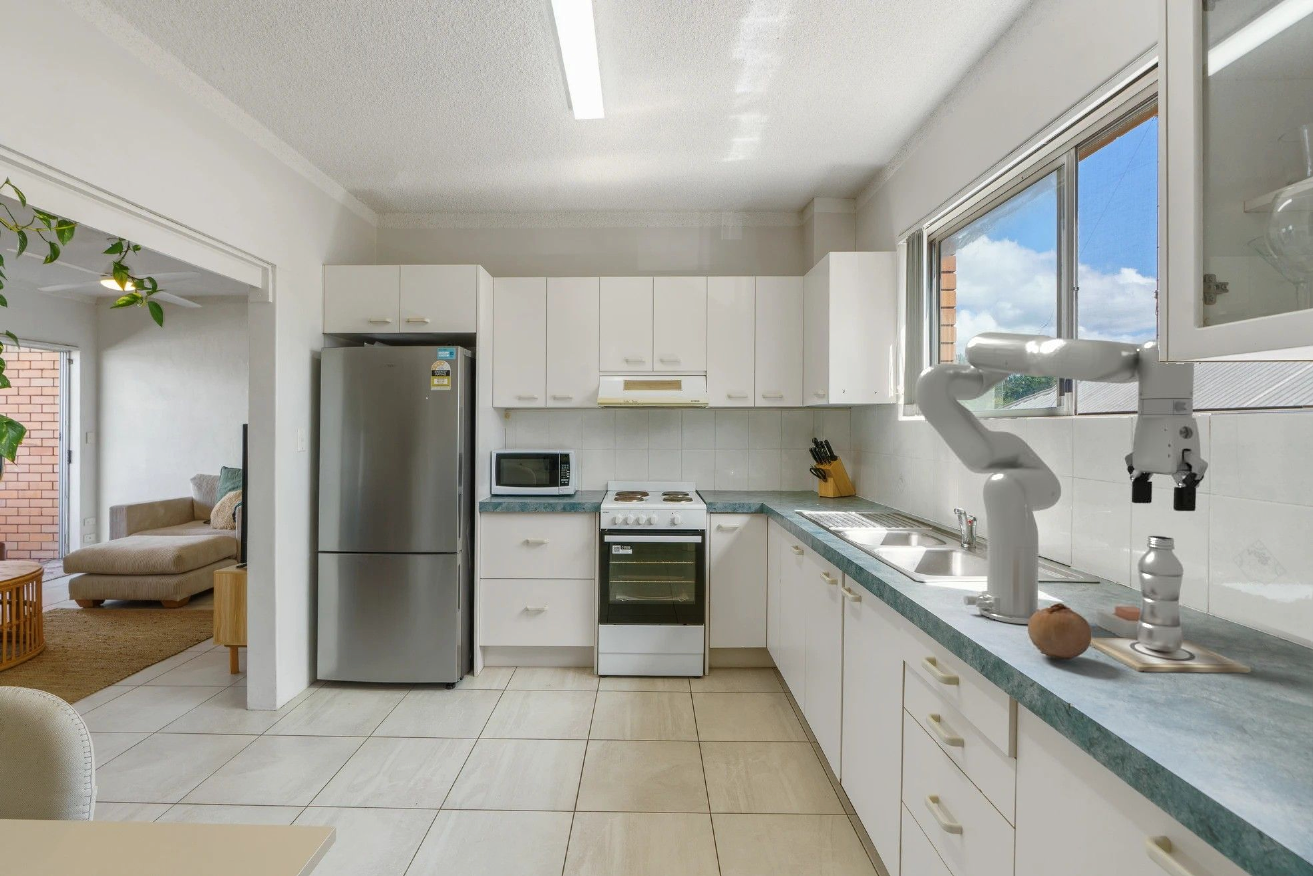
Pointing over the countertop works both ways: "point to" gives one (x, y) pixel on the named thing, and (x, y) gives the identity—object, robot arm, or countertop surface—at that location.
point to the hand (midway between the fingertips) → (1162, 506)
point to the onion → (1059, 632)
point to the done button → (1128, 612)
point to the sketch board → (1166, 657)
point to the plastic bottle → (1160, 596)
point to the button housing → (1117, 624)
